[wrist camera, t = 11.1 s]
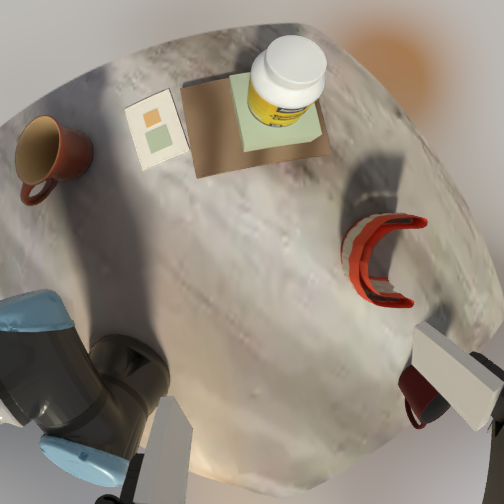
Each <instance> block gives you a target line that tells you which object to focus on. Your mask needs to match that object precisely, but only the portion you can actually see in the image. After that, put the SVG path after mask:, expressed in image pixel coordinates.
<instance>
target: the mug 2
mask: <svg viewBox="0 0 504 504" xmlns="http://www.w3.org/2000/svg"><path fill="white" fill-rule="evenodd" d="M398 385H399V388H400V389H401V391H402V393H403V395H404V396H405V408H406V412H407V415H408V418H409V420H410V422H411V423H412V425H413V426H414V427H415V428H416V429H422V428H424V427H425V426H426V424H427V423H430V422H432V421H435V420H436V419H438V418H439V417H440V416H442V415H443V414H444V413H445V412H446V411H447V410H448V409H449V408H450V406H451V405H450V404H449V402H448V401H447V400H446V399H445V398H444V397H443V396H442V395H441V394H440V393H439V392H438V391H437V390H436V389H435V388H434V387H433V386H432V385H431V384H430V382H429V381H428V380H427V379H426V378H425V377H424V376H423V375H422V374H421V373H420V372H419V371H418V370H417V369H416V368H415V367H414V366H413V365H410V366H409V367H408V368H407V369H406V370H405V371H404V372H403V373H402V375H401V377H400V379H399V382H398ZM410 406H411V407H410ZM411 408H412V410H413V411H414V413H415V415H416V416H417V418H418V419H419V420H420V422H421V425H420V426H419V425H418V423H417V422H416V420H415V418H414V416H413V414H412V411H411Z"/></svg>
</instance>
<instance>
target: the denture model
mask: <svg viewBox="0 0 504 504" xmlns="http://www.w3.org/2000/svg"><path fill="white" fill-rule="evenodd" d="M427 223H428V221H427V219H425V218H422V217H418V216H414V215H408V214H405V213H395V214H393V213H383V214H381V215H380V214H374V215H371V216H368V217H365V218H364V219H361V220H359V221H358V222H357V223H356V224H355V225H354V226H353V227H352V228H351V229H350V230H349V231H348V232H347V234H346V236H345V238H344V241H343V245H342V252H341V262H342V265H343V270H344V272H345V274H344V275H345V277H346V278H347V280H348V281H349V283H351V284H352V287H353V288H354V289H355V290H356V291H357V293H358V294H359V295H360V296H361V297H362V298H364V299H366V300H367V301H369V302H371V303H373V304H375V305H378V306H382V307H390V308H411V307H413V305H414V301H413V300H411V299H408V298H406V297H404V296H403V295H402V294H400V293H396V292H394V291H393V290H394V286H393V285H391V284H390V283H389V280H388V279H386V278H375V277H368V262H369V259H370V256H371V253H372V250H373V248H374V246H375V245H376V244H377V243H378V241H379V240H380V239H381V238H382V237H383V236H385V235H386V234H387V233H389V232H390V231H392V230H398V229H419V228H424V227H425V226H427ZM382 290H383V291H382Z"/></svg>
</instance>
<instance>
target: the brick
mask: <svg viewBox="0 0 504 504" xmlns="http://www.w3.org/2000/svg"><path fill="white" fill-rule="evenodd" d="M250 73H251V72H248V73H242V74H236V75H230V91H231V96H232V100H233V105H234V110H235V114H236V119H237V124H238V128H239V133H240V138H241V143H242V148H243V152H248V151H254V150H259V149H265V148H271V147H277V146H284V145H290V144H298V143H305V142H311V141H313V140H314V139H316V138H317V137H319V136H320V135H322V131H321V127H320V123H319V119H318V115H317V111H316V107H315V103H313V104H312V105H311V106H310V107H309V108H308V110H307V111H306V112H305V113H304V114H303V115H302V116H301V117H300V119H299V120H298V121H296V122H295V123H293V124H292V125H290V126H287V127H282V128H274V127H269V126H266V125H264V124H262V123H260V122H259V121H257V120H256V119H255V118H254V117H253V115H252V114H251V112H250V110H249V108H248V104H247V96H248V88H249V80H250Z"/></svg>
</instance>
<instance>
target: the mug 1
mask: <svg viewBox="0 0 504 504" xmlns="http://www.w3.org/2000/svg"><path fill="white" fill-rule="evenodd" d="M92 155H93V148H92V144H91V141H90V140H89V138H88V137H87V136H86V135H85V134H83V133H82V132H80V131H78V130H73V129H70V128H66V127H62V126H61V125H60V124H59V123H58V122H57V121H56V120H55V119H54V118H53V117H51V116H48V115H43V116H39V117H37V118H35V119H34V120H32V121H31V122H30V123H29V124H28V125H27V126H26V128H25V129H24V131H23V132H22V134H21V136H20V138H19V141H18V144H17V147H16V152H15V166H16V171H17V175H18V177H19V178H20V180H21V181H22V182H23V184H22V190H21V195H20V197H21V201H22V202H23V203H24V204H25V205H27V206H33V205H37V204H39V203H41V202H42V201H43V200H44V199H46V197H47V196H48V195H49V194H50V192H51V191H52V190H53V189H54V187H55V186H56V185H57V183H58V181H68V180H72V179H75V178H78V177H80V176H81V175H82V174H84V173H85V171H86V170H87V169H88V167H89V165H90V163H91V160H92ZM44 181H46V183H45V186H44V187H43V189H42V190H41V191H40V192H39V193H38V194H37V195H35V196H32V197H29V194H30V192H31V190H32V189H33V188H34V187H35V185H38V184H40V183H42V182H44Z"/></svg>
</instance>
